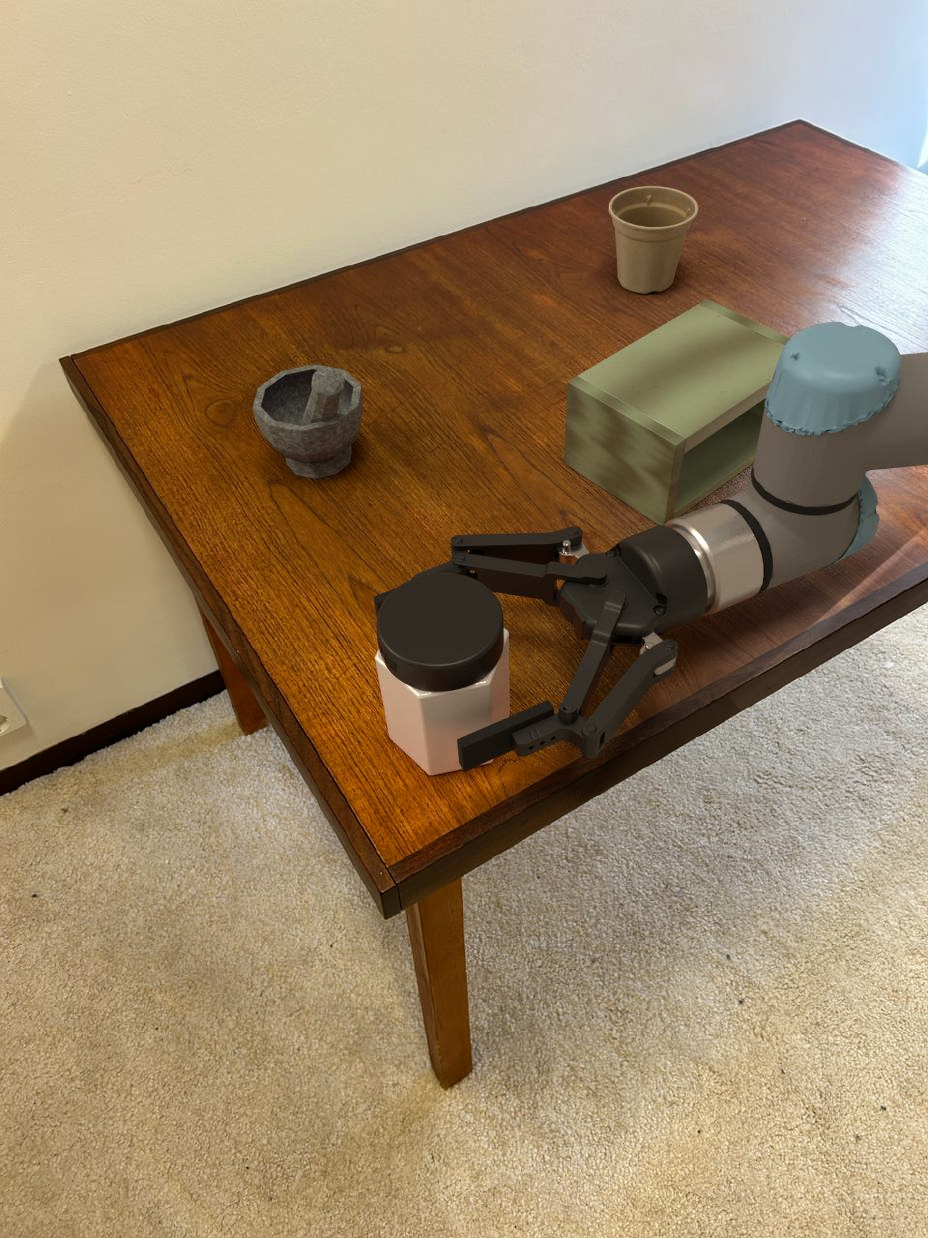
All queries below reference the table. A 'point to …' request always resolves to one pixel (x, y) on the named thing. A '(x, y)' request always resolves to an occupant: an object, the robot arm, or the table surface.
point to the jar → (441, 666)
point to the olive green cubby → (673, 410)
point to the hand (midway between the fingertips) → (415, 680)
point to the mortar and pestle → (311, 417)
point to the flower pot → (650, 235)
